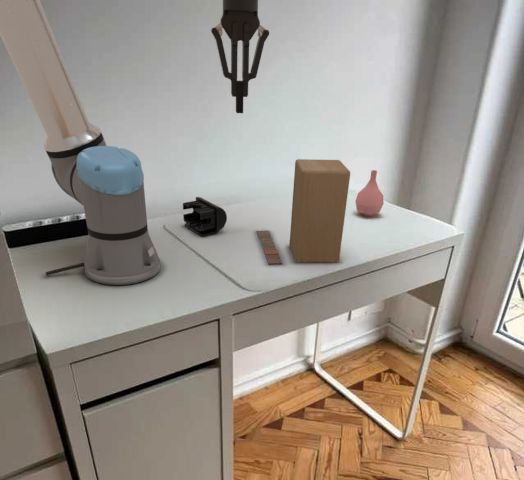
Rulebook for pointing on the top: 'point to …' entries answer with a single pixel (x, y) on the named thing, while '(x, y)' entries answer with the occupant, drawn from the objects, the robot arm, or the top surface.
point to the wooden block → (318, 209)
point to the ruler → (269, 248)
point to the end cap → (204, 217)
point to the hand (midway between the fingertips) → (239, 112)
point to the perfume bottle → (370, 197)
